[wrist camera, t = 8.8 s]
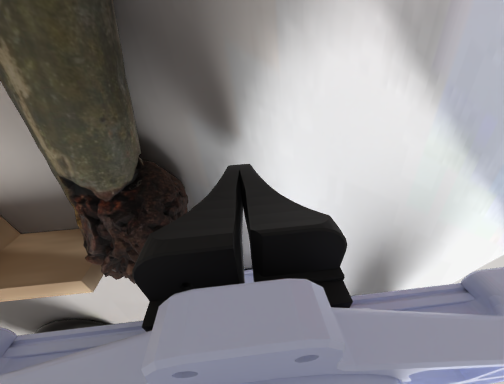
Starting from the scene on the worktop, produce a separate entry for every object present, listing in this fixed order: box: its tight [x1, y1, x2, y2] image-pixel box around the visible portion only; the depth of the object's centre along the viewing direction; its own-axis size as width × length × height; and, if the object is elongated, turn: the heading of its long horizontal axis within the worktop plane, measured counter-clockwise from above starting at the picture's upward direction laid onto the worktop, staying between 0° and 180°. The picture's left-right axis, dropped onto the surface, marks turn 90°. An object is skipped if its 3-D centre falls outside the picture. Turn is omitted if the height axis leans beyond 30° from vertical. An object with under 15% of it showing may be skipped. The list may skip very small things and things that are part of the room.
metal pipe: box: [0, 0, 188, 284], centre depth 11 cm, size 18×7×6 cm, turn 174°
